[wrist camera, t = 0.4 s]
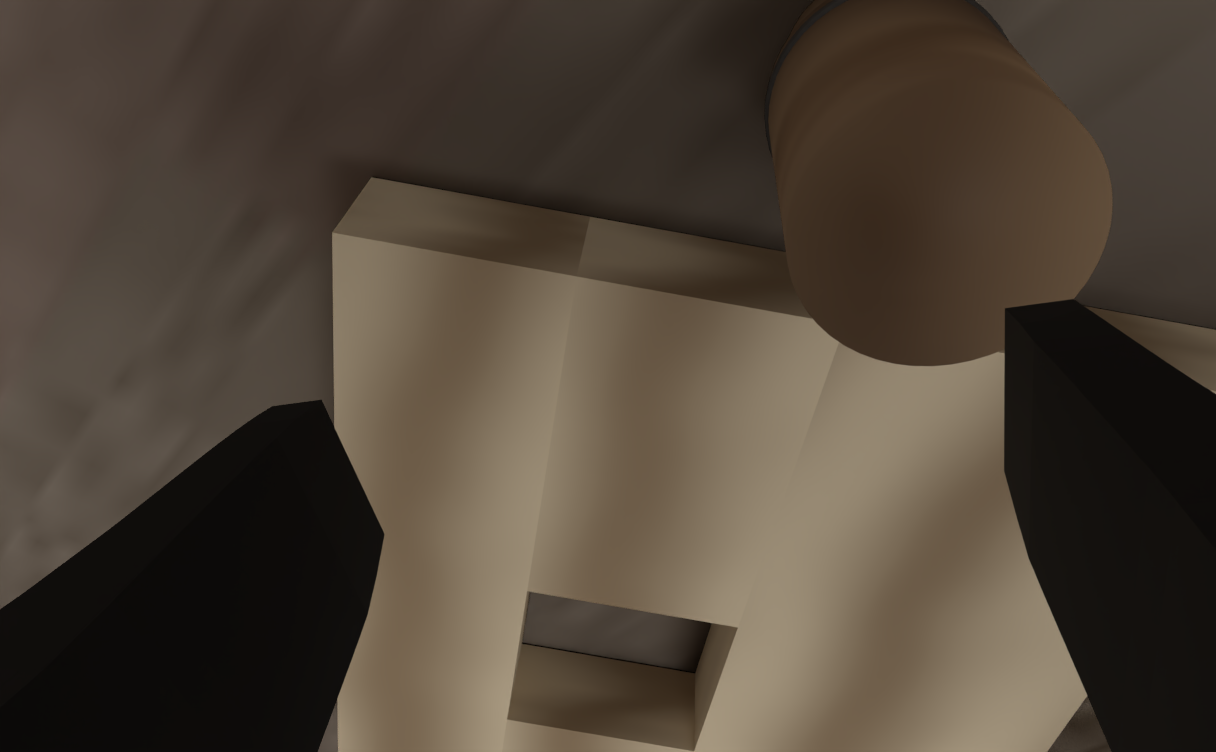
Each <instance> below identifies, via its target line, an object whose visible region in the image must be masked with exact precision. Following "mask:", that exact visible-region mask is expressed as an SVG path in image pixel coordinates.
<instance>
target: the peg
mask: <svg viewBox="0 0 1216 752" xmlns="http://www.w3.org/2000/svg"><path fill="white" fill-rule="evenodd" d="M764 117H765V128H766V137H767V141H768V145H769V150H770V153H771V155H772V158H773V164H774V171H775V178H776V185H777V192H778V199H779V207H780V214H781V221H782V228H783V235H784V242H785V249H786V256H787V263H788V268H789V272H790V276H791V281H792V283H793V285H794V288H795V290H796V293H797V295H798V297H799V299H800V301H801V302H802V304H803V306H804V308H805V309H806V311H807V312H808V313H809V315H810V316H811V317H812V318H813V320H814V321H815V322H816V323H817V324H818V325H819V326H820V327H821V328H822V329H823V330H824V331H825V332H826V333H827V334H829V335H830V336H831V337H833V338H834V339H835V340H837V341H838V342H840V343H841V344H843V345H844V346H846V347H848V348H850V349H852V350H854V351H856V352H858V353H860V354H863V355H865V356H868V357H871V358H873V359H876V360H880V361H885V362H889V363H893V364H900V365H908V366H941V365H952V364H957V363H962V362H967V361H972V360H975V359H979V358H982V357H985V356H989V355H991V354H994V353H996V352H999V351H1001V350H1004V349H1005V308H1010V307H1017V306H1025V305H1032V304H1039V303H1047V302H1054V301H1062V300H1069V299H1074V298H1075V297H1076V296H1077V294H1078V293H1079V292H1080V290H1081V289H1082V288H1083V286H1084V285H1085V284H1086V283H1087V281H1088V279H1089V278H1090V276H1091V274H1092V273H1093V271H1094V269H1095V268H1096V266H1097V264H1098V262H1099V259H1100V257H1101V255H1102V252H1103V250H1104V248H1105V245H1106V241H1107V238H1108V234H1109V230H1110V226H1111V218H1112V210H1113V203H1112V186H1111V181H1110V176H1109V171H1108V168H1107V166H1106V163H1105V160H1104V158H1103V155H1102V153H1101V151H1100V149H1099V148H1098V146H1097V144H1096V142H1095V141H1094V139H1093V137H1092V136H1091V135H1090V134H1089V132H1088V131H1087V130H1086V129H1085V128H1084V126H1083V125H1082V124H1081V123H1080V122H1079V120H1078V119H1077V118H1076V117H1075V116H1074V115H1073V114H1072V113H1071V111H1070V110H1069V109H1068V108H1067V107H1066V106H1065V105H1064V104H1063V102H1062V101H1061V100H1060V99H1059V98H1058V97H1057V96H1056V94H1055V93H1054V92H1053V91H1052V90H1051V89H1050V88H1049V87H1048V85H1047V84H1046V83H1045V82H1044V81H1043V80H1042V79H1041V77H1040V76H1039V75H1038V74H1037V73H1036V72H1035V71H1034V70H1033V68H1032V67H1031V66H1030V65H1029V64H1028V63H1027V62H1026V61H1025V59H1024V58H1023V57H1022V56H1021V55H1020V54H1019V53H1018V51H1017V50H1016V49H1015V48H1014V47H1013V46H1012V45H1011V44H1010V42H1009V40H1008V39H1007V37H1006V35H1005V34H1004V32H1003V30H1002V29H1001V27H1000V26H999V25H998V24H997V22H996V21H995V20H994V19H993V18H992V16H991V15H990V14H989V13H988V12H987V11H986V10H985V9H984V8H983V7H982V6H981V5H979V4H978V3H977V2H976V1H975V0H814V1H813V2H812V3H811V4H810V5H809V6H808V7H807V8H806V10H805V11H804V12H803V13H802V15H801V16H800V17H799V19H798V21H797V22H796V24H795V25H794V28H793V30H792V32H791V34H790V36H789V38H788V39H787V41H786V43H785V44H784V46H783V47H782V49H781V51H780V53H779V55H778V57H777V60H776V62H775V64H774V67H773V70H772V73H771V76H770V81H769V84H768V89H767V94H766V99H765V115H764Z"/></svg>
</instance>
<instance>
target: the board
mask: <svg viewBox="0 0 1216 752" xmlns="http://www.w3.org/2000/svg"><path fill="white" fill-rule="evenodd" d="M332 263H333V350H334V428H335V430H336V432H337V434H338V436H339V438H340V440H341V443H342V445H343V447H344V449H345V451H346V453H347V455H348V457H349V460H350V462H351V464H352V466H353V468H354V470H355V472H356V474H357V477H358V479H359V481H360V483H361V485H362V487H363V489H364V491H365V494H366V496H367V498H368V500H369V502H370V504H371V506H372V508H373V510H374V513H375V515H376V517H377V519H378V521H379V523H380V525H381V527H382V530H383V532H384V534H385V535H384V540H383V546H382V551H381V556H380V561H379V566H378V572H377V577H376V581H375V586H374V590H373V594H372V598H371V603H370V607H369V611H368V615H367V618H366V621H365V624H364V627H363V630H362V633H361V635H360V638H359V641H358V644H357V646H356V649H355V652H354V655H353V658H352V660H351V663H350V666H349V669H348V671H347V674H346V677H345V680H344V682H343V685H342V688H341V690H340V693H339V696H338V752H1047V751H1048V750H1049V748H1050V747H1051V746H1052V744H1053V743H1054V741H1055V740H1056V739H1057V737H1058V736H1059V734H1060V733H1061V732H1062V730H1063V729H1064V727H1065V726H1066V725H1067V723H1068V722H1069V720H1070V719H1071V718H1072V716H1073V715H1074V713H1075V712H1076V711H1077V709H1078V708H1079V707H1080V705H1081V704H1082V702H1083V701H1084V700H1085V698H1086V697H1087V693H1086V691H1085V689H1084V687H1083V684H1082V682H1081V680H1080V677H1079V675H1078V673H1077V670H1076V668H1075V666H1074V664H1073V661H1072V659H1071V657H1070V654H1069V652H1068V650H1067V647H1066V645H1065V643H1064V640H1063V638H1062V636H1061V634H1060V631H1059V629H1058V627H1057V624H1056V622H1055V620H1054V617H1053V615H1052V612H1051V610H1050V608H1049V605H1048V603H1047V601H1046V598H1045V596H1044V594H1043V591H1042V589H1041V587H1040V584H1039V582H1038V580H1037V577H1036V575H1035V572H1034V570H1033V568H1032V565H1031V563H1030V560H1029V558H1028V554H1027V551H1026V548H1025V544H1024V541H1023V537H1022V534H1021V530H1020V527H1019V524H1018V520H1017V517H1016V513H1015V509H1014V506H1013V502H1012V498H1011V495H1010V491H1009V487H1008V484H1007V480H1006V476H1005V473H1004V366H1005V349H1004V350H1001V351H999V352H996V353H994V354H991V355H989V356H985V357H982V358H979V359H975V360H972V361H967V362H962V363H957V364H952V365H941V366H908V365H900V364H893V363H889V362H885V361H880V360H876V359H873V358H871V357H868V356H865V355H863V354H860V353H858V352H856V351H854V350H852V349H850V348H848V347H846V346H844V345H843V344H841V343H840V342H838V341H837V340H835V339H834V338H833V337H831V336H830V335H829V334H827V333H826V332H825V331H824V330H823V329H822V328H821V327H820V326H819V325H818V324H817V323H816V322H815V321H814V320H813V318H812V317H811V316H810V315H809V313H808V312H807V311H806V309H805V308H804V306H803V304H802V302H801V301H800V299H799V297H798V295H797V293H796V290H795V288H794V285H793V283H792V281H791V276H790V272H789V268H788V263H787V256H786V252H783V251H777V250H771V249H766V248H760V247H755V246H749V245H744V244H738V243H733V242H727V241H722V240H716V239H711V238H705V237H700V236H694V235H688V234H683V233H677V232H672V231H666V230H661V229H655V228H650V227H644V226H639V225H633V224H628V223H622V222H617V221H611V220H606V219H600V218H594V217H589V216H583V215H578V214H572V213H567V212H561V211H556V210H550V209H545V208H539V207H534V206H528V205H523V204H517V203H511V202H506V201H500V200H495V199H489V198H484V197H478V196H473V195H467V194H462V193H456V192H451V191H445V190H440V189H434V188H428V187H423V186H417V185H412V184H406V183H401V182H395V181H390V180H384V179H379V178H373V177H371V178H370V180H369V181H368V183H367V184H366V186H365V187H364V188H363V190H362V191H361V193H360V194H359V195H358V197H357V198H356V200H355V201H354V202H353V204H352V205H351V207H350V208H349V210H348V211H347V212H346V214H345V215H344V217H343V218H342V219H341V221H340V222H339V224H338V225H337V226H336V228H335V229H334V231H333V232H332ZM1084 307H1086V308H1088V309H1089V310H1091V311H1092V312H1094V313H1095V314H1097V315H1098V316H1099V317H1101V318H1102V319H1104V320H1105V321H1107V322H1108V323H1110V324H1111V325H1113V326H1114V327H1116V328H1117V329H1119V330H1120V331H1121V332H1123V333H1124V334H1126V335H1127V336H1129V337H1130V338H1132V339H1133V340H1135V341H1136V342H1138V343H1139V344H1141V345H1142V346H1144V347H1145V348H1146V349H1148V350H1149V351H1151V352H1152V353H1154V354H1155V355H1157V356H1158V357H1160V358H1161V359H1163V360H1164V361H1166V362H1167V363H1169V364H1170V365H1172V366H1173V367H1175V368H1176V369H1178V370H1179V371H1181V372H1182V373H1184V374H1186V375H1187V376H1189V377H1190V378H1192V379H1193V380H1195V381H1196V382H1198V383H1199V384H1201V385H1203V386H1204V387H1206V388H1207V389H1209V390H1210V391H1212V392H1214V393H1215V394H1216V330H1214V329H1209V328H1203V327H1197V326H1192V325H1186V324H1181V323H1175V322H1170V321H1164V320H1159V319H1153V318H1148V317H1142V316H1137V315H1131V314H1126V313H1120V312H1115V311H1109V310H1103V309H1098V308H1092V307H1087V306H1084ZM530 592H535V593H541V594H547V595H553V596H558V597H564V598H570V599H576V600H581V601H587V602H593V603H599V604H605V605H610V606H616V607H622V608H628V609H634V610H639V611H645V612H651V613H657V614H662V615H668V616H674V617H680V618H686V619H691V620H697V621H703V622H709V623H712V624H711V627H710V630H709V633H708V636H707V639H706V642H705V645H704V648H703V651H702V654H701V657H700V660H699V664H698V667H697V670H696V673H689V672H683V671H678V670H672V669H666V668H660V667H654V666H649V665H643V664H637V663H631V662H625V661H619V660H614V659H608V658H602V657H596V656H590V655H584V654H579V653H573V652H567V651H561V650H555V649H550V648H544V647H538V646H532V645H526V644H522V641H523V635H524V628H525V622H526V616H527V610H528V603H529V597H530Z"/></svg>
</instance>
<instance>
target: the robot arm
mask: <svg viewBox="0 0 1216 752" xmlns="http://www.w3.org/2000/svg"><path fill="white" fill-rule="evenodd" d="M1004 473H1005V476H1006V480H1007V484H1008V487H1009V491H1010V495H1011V498H1012V502H1013V506H1014V509H1015V513H1016V517H1017V520H1018V524H1019V527H1020V530H1021V534H1022V537H1023V541H1024V544H1025V548H1026V551H1027V554H1028V558H1029V560H1030V563H1031V565H1032V568H1033V570H1034V572H1035V575H1036V577H1037V580H1038V582H1039V584H1040V587H1041V589H1042V591H1043V594H1044V596H1045V598H1046V601H1047V603H1048V605H1049V608H1050V610H1051V612H1052V615H1053V617H1054V620H1055V622H1056V624H1057V627H1058V629H1059V631H1060V634H1061V636H1062V638H1063V640H1064V643H1065V645H1066V647H1067V650H1068V652H1069V654H1070V657H1071V659H1072V661H1073V664H1074V666H1075V668H1076V670H1077V673H1078V675H1079V677H1080V680H1081V682H1082V684H1083V687H1084V689H1085V691H1086V693H1087V696H1088V698H1089V700H1090V703H1091V705H1092V707H1093V710H1094V712H1095V714H1096V717H1097V719H1098V721H1099V724H1100V726H1101V728H1102V730H1103V733H1104V735H1105V737H1106V740H1107V742H1108V744H1109V747H1110V749H1111V751H1112V752H1216V394H1215V393H1214V392H1212V391H1210V390H1209V389H1207V388H1206V387H1204V386H1203V385H1201V384H1199V383H1198V382H1196V381H1195V380H1193V379H1192V378H1190V377H1189V376H1187V375H1186V374H1184V373H1182V372H1181V371H1179V370H1178V369H1176V368H1175V367H1173V366H1172V365H1170V364H1169V363H1167V362H1166V361H1164V360H1163V359H1161V358H1160V357H1158V356H1157V355H1155V354H1154V353H1152V352H1151V351H1149V350H1148V349H1146V348H1145V347H1144V346H1142V345H1141V344H1139V343H1138V342H1136V341H1135V340H1133V339H1132V338H1130V337H1129V336H1127V335H1126V334H1124V333H1123V332H1121V331H1120V330H1119V329H1117V328H1116V327H1114V326H1113V325H1111V324H1110V323H1108V322H1107V321H1105V320H1104V319H1102V318H1101V317H1099V316H1098V315H1097V314H1095V313H1094V312H1092V311H1091V310H1089V309H1088V308H1086V307H1084V306H1083V305H1081V304H1080V303H1078V302H1077V301H1075V300H1073V299H1069V300H1062V301H1054V302H1047V303H1039V304H1032V305H1025V306H1017V307H1010V308H1005V366H1004ZM384 535H385V534H384V532H383V530H382V527H381V525H380V523H379V521H378V519H377V517H376V515H375V513H374V510H373V508H372V506H371V504H370V502H369V500H368V498H367V496H366V494H365V491H364V489H363V487H362V485H361V483H360V481H359V479H358V477H357V474H356V472H355V470H354V468H353V466H352V464H351V462H350V460H349V457H348V455H347V453H346V451H345V449H344V447H343V445H342V443H341V440H340V438H339V436H338V434H337V432H336V430H335V428H334V426H333V423H332V421H331V419H330V417H329V415H328V413H327V411H326V409H325V406H324V404H323V402H322V400H316V401H309V402H301V403H294V404H287V405H279V406H272V407H270V408H269V409H267V410H266V411H264V412H262V413H261V414H259V415H258V416H256V417H255V418H253V419H252V420H250V421H249V422H247V423H246V424H244V425H243V426H242V427H240V428H239V429H237V430H236V431H235V432H233V433H232V434H231V435H229V436H228V437H227V438H225V439H224V440H223V441H221V442H220V443H219V444H217V445H216V446H215V447H214V448H212V449H211V450H210V451H208V452H207V453H206V454H204V455H203V456H202V457H201V458H199V459H198V460H197V461H196V462H194V463H193V464H192V465H190V466H189V467H188V468H187V469H185V470H184V471H183V472H182V473H180V474H179V475H178V476H177V477H175V478H174V479H173V480H171V481H170V482H169V483H168V484H166V485H165V486H164V487H163V488H161V489H160V490H159V491H158V492H156V493H155V494H154V495H152V496H151V497H150V498H149V499H147V500H146V501H145V502H144V503H142V504H141V505H140V506H139V507H137V508H136V509H135V510H133V511H132V512H131V513H130V514H128V515H127V516H126V517H125V518H123V519H122V520H121V521H119V522H118V523H117V524H116V525H114V526H113V527H112V528H110V529H109V530H108V531H106V532H105V533H104V534H102V535H101V536H100V537H98V538H97V539H96V540H94V541H93V542H92V543H90V544H89V545H88V546H86V547H85V548H84V549H82V550H81V551H80V552H78V553H77V554H76V555H74V556H73V557H72V558H70V559H69V560H67V561H66V562H65V563H63V564H62V565H61V566H59V567H58V568H57V569H55V570H54V571H53V572H51V573H50V574H49V575H47V576H46V577H45V578H43V579H42V580H41V581H39V582H38V583H37V584H35V585H34V586H33V587H31V588H30V589H28V590H27V591H26V592H24V593H23V594H22V595H20V596H19V597H17V598H16V599H14V600H13V601H12V602H10V603H9V604H7V605H6V606H4V607H3V608H2V609H0V752H317V751H318V749H319V746H320V743H321V741H322V738H323V735H324V733H325V730H326V727H327V725H328V722H329V719H330V717H331V714H332V711H333V709H334V706H335V703H336V701H337V698H338V696H339V693H340V690H341V688H342V685H343V682H344V680H345V677H346V674H347V671H348V669H349V666H350V663H351V660H352V658H353V655H354V652H355V649H356V646H357V644H358V641H359V638H360V635H361V633H362V630H363V627H364V624H365V621H366V618H367V615H368V611H369V607H370V603H371V598H372V594H373V590H374V586H375V581H376V577H377V572H378V566H379V561H380V556H381V551H382V546H383V540H384Z"/></svg>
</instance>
